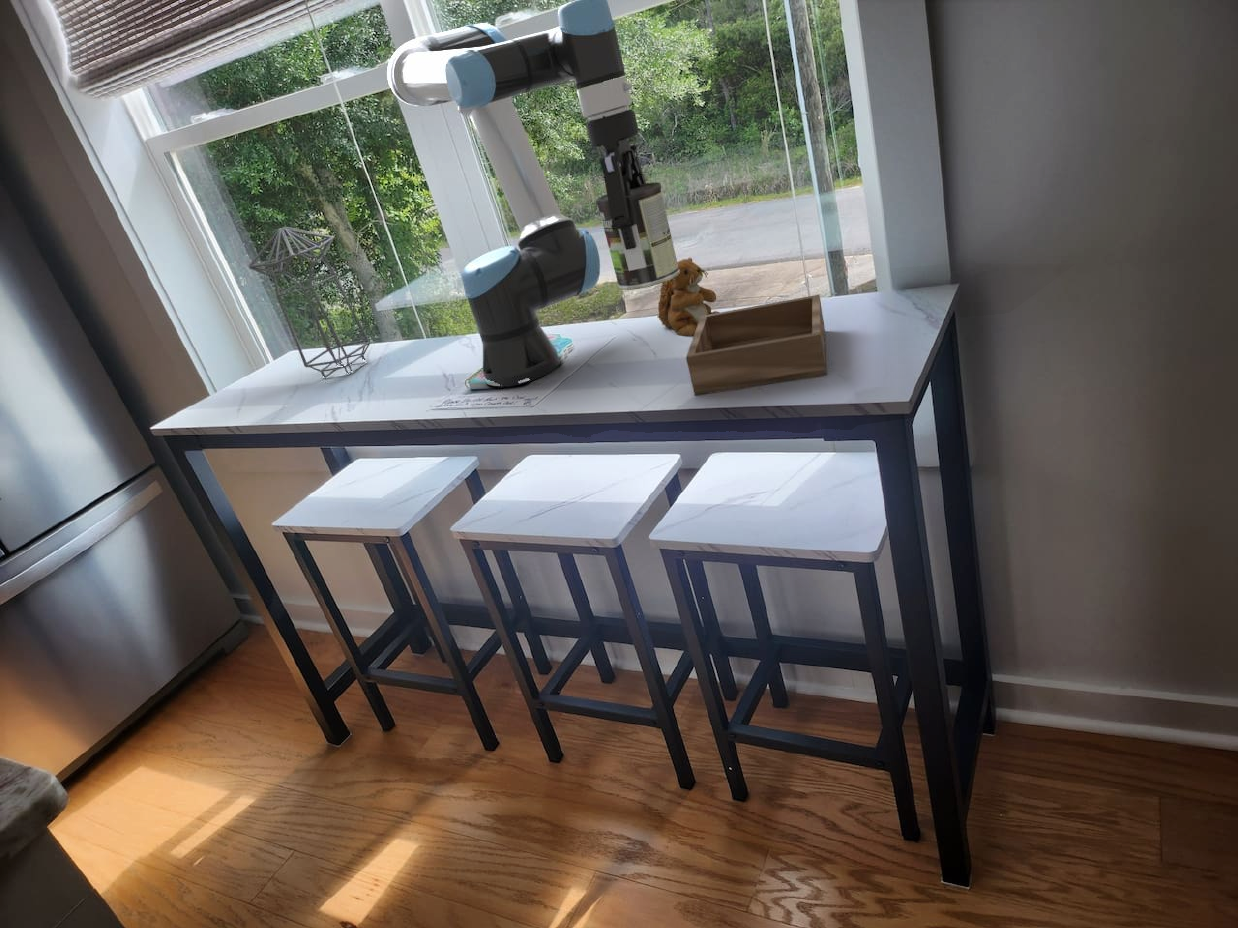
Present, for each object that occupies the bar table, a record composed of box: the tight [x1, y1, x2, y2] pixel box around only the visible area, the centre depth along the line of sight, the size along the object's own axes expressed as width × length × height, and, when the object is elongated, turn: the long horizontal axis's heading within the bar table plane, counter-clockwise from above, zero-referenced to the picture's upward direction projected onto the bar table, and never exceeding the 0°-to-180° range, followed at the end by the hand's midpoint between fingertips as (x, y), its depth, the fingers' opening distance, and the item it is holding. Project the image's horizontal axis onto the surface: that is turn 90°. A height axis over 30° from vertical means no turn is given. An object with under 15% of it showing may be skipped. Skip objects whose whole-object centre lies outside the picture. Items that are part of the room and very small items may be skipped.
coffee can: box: [595, 181, 680, 291], centre depth 134 cm, size 10×10×14 cm
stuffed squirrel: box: [656, 257, 720, 337], centre depth 167 cm, size 10×14×13 cm
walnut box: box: [685, 294, 828, 397], centre depth 139 cm, size 20×20×6 cm
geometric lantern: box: [248, 226, 371, 377], centre depth 197 cm, size 16×16×35 cm
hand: (644, 260), depth 136 cm, fingers closed on coffee can, 10 cm apart
